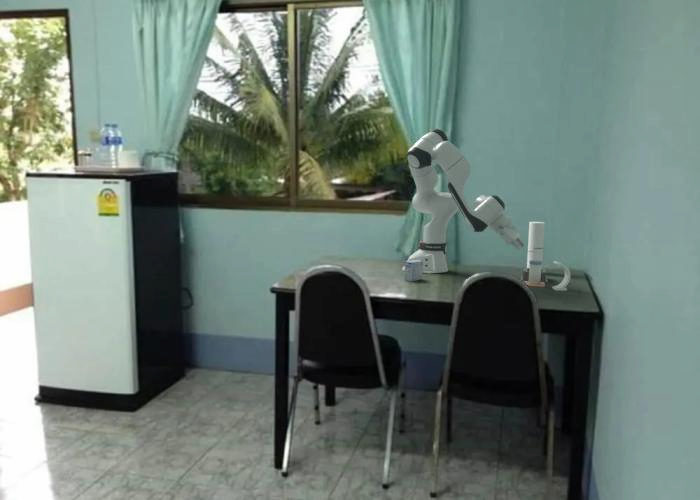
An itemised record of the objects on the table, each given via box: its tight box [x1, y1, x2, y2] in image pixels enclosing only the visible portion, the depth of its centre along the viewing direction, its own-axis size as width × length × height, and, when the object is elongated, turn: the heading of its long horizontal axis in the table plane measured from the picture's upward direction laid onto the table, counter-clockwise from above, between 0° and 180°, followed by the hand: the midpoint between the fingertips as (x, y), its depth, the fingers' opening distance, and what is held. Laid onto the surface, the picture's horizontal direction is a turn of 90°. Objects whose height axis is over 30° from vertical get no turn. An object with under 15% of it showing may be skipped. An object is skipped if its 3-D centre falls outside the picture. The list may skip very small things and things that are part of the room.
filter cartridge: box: [529, 260, 543, 285], centre depth 274 cm, size 5×5×10 cm
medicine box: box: [403, 260, 423, 282], centre depth 281 cm, size 8×4×9 cm, turn 135°
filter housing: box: [520, 267, 549, 284], centre depth 286 cm, size 12×12×4 cm
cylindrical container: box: [526, 221, 546, 269], centre depth 302 cm, size 7×7×25 cm
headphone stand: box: [551, 260, 571, 291], centre depth 264 cm, size 5×6×12 cm
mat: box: [523, 281, 546, 288], centre depth 275 cm, size 9×9×1 cm
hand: (521, 247), depth 279 cm, fingers open, 8 cm apart
